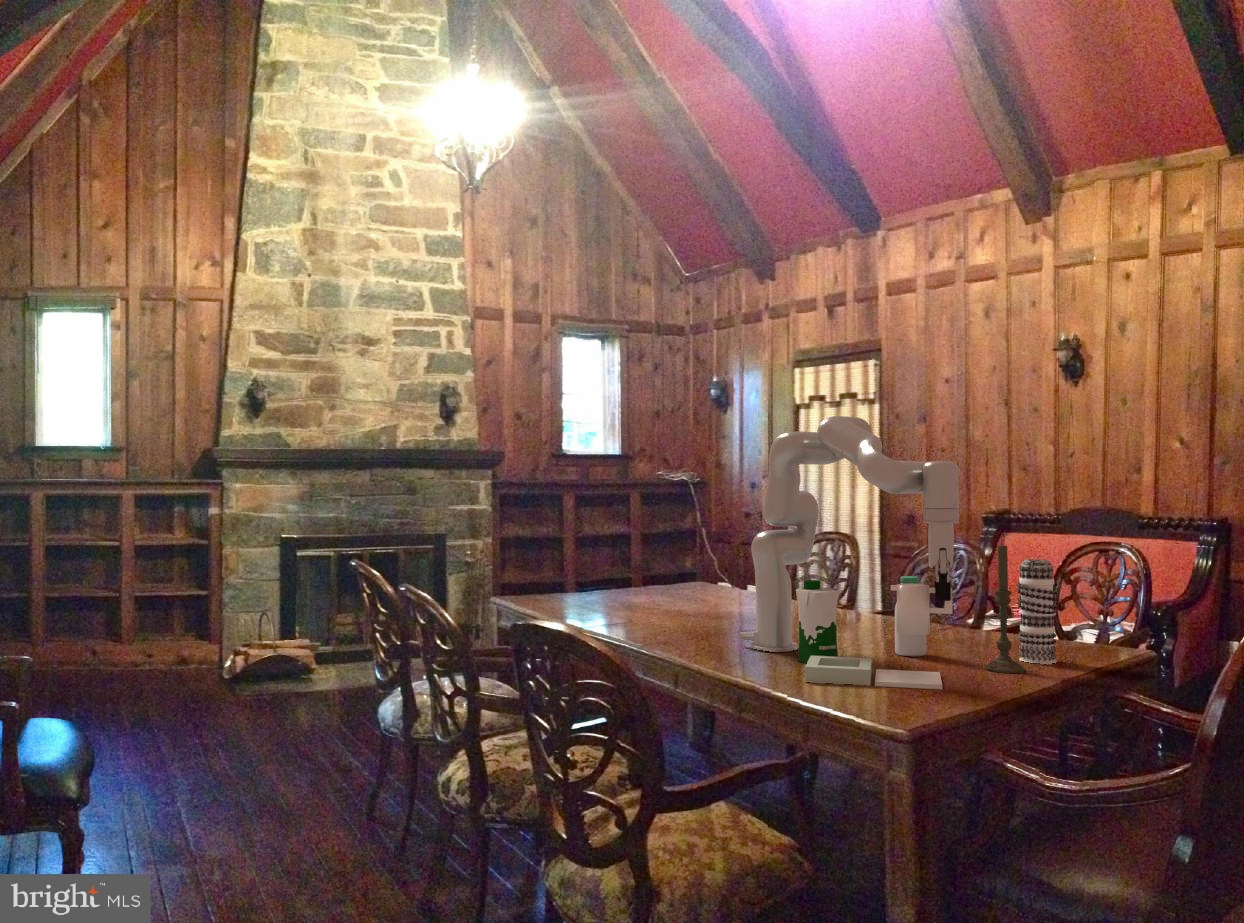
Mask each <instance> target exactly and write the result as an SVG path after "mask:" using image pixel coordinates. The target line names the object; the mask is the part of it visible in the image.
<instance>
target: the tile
mask: <svg viewBox="0 0 1244 923" xmlns="http://www.w3.org/2000/svg"><path fill="white" fill-rule="evenodd" d="M874 687H883V688H885V687H887V688H888V687H889V688H907V689H926V690H943V681H942V678H941V673H940V671H927V670H924V671H923V670H905V669H904V670H901V669H879V668H877V669H875V676H874Z"/></svg>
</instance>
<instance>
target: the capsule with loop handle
mask: <svg viewBox="0 0 1244 923" xmlns="http://www.w3.org/2000/svg"><path fill="white" fill-rule="evenodd" d="M890 591H896V602H897V632H898V633H902V634H910V635H925V634H926V635H929V634H930V632H931V629H930V628H931V625H930V624H931V623H930V622H931V620H930V619H931V617H930V614H939V615H940V614H941V615H943V614H944V615H948V614H949V615H953V588H952V587H951V600H950V601H944V607H930V602H931V601H930V594H935V587H930V585H929V584H926V583H925V584H923V583H919V584H901V583H897V584H890Z"/></svg>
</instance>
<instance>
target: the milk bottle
mask: <svg viewBox="0 0 1244 923" xmlns="http://www.w3.org/2000/svg"><path fill="white" fill-rule="evenodd" d="M899 580H900V584H920V577H918V576H916V575H915V576H914V575H904V576H903V575H902V576H900V578H899ZM894 652H895V654H896V655H899V656H903V657H923V656H926V654H927V634H925V635H910V634H902V633H898V632H897V601H896V603H895V606H894Z"/></svg>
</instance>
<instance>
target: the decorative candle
mask: <svg viewBox="0 0 1244 923" xmlns="http://www.w3.org/2000/svg"><path fill="white" fill-rule="evenodd" d="M1018 566H1019V579H1018V582H1017V583H1016V585H1015V586H1017V590H1016V592H1017V593H1018V594H1019V596H1018V597H1017V598H1016V599H1017V601H1018V602H1019V603H1018V604H1017V606H1018V608H1019V609H1020V610H1019V611H1018V614H1020V624H1019V630H1020V631H1019V632H1018V635H1019V636H1021V637H1020V638H1018V641H1019V642H1020V644H1019V645H1018V649H1019V652H1018V655H1019V656H1020V657H1019V659H1018V660H1019V661H1020V662H1021V661H1024V662H1023V663H1025V662H1029V663H1028V664H1030V663H1040V664H1039V665H1044V664H1046V665H1053V664H1052V663H1055V664H1057V663H1056V662H1058V661H1057V660H1056V658H1057V656H1058V655H1057V653H1056V652H1057V650H1058V649H1057V647H1056V646H1055V644H1056V643H1057V640H1056V639H1055V638H1056V637H1057V634H1056V627H1055V625H1054V624H1055V618H1054V616H1056V615H1057V613H1056V611H1055V610H1056V609H1057V606H1056V605H1055V604H1054V602H1057V601H1058V598H1057V597H1055V596H1056V595H1057V594H1058V592H1057V591H1056V590H1055V589H1054V588H1057V586H1058V584H1057V582H1055V578H1054V567H1056V566H1054V565H1052V563H1051V561H1050V560H1048V559H1042V558H1026V559H1025V560H1023V561H1022V562H1021V564H1019V565H1018Z"/></svg>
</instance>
